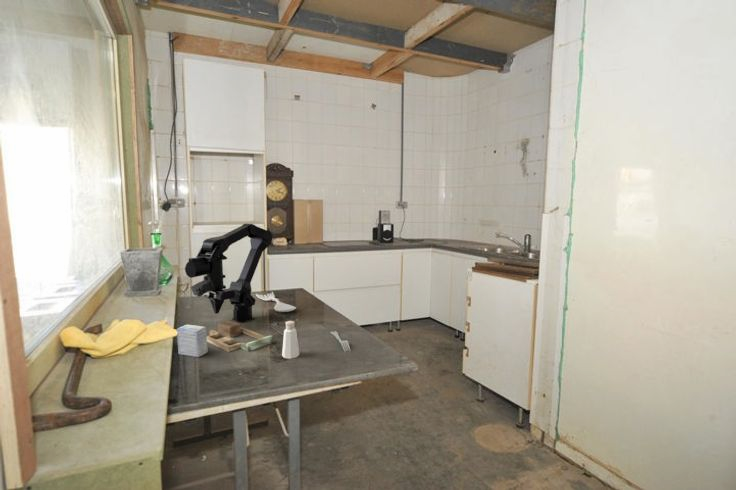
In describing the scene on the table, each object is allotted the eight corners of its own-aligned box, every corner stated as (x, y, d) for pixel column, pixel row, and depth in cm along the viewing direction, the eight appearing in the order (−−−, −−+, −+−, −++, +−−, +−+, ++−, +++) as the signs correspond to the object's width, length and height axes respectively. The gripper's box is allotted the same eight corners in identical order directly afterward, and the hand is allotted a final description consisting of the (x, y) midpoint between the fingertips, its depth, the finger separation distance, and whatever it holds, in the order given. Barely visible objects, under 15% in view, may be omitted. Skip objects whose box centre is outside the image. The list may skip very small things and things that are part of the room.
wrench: (275, 323, 154) (275, 321, 153) (298, 338, 138) (298, 335, 137) (264, 326, 151) (263, 323, 151) (286, 341, 135) (285, 338, 135)
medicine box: (208, 352, 124) (206, 326, 123) (197, 358, 120) (196, 331, 119) (188, 349, 127) (187, 323, 126) (177, 354, 122) (176, 328, 121)
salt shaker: (291, 360, 119) (290, 325, 117) (278, 356, 121) (277, 322, 120) (302, 354, 123) (302, 320, 122) (290, 350, 126) (289, 318, 125)
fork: (336, 337, 145) (336, 330, 145) (352, 353, 125) (352, 344, 125) (329, 338, 144) (329, 331, 144) (344, 354, 124) (343, 345, 124)
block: (228, 331, 145) (228, 320, 144) (240, 334, 141) (240, 324, 140) (218, 334, 141) (217, 323, 140) (230, 338, 137) (229, 327, 136)
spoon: (272, 297, 194) (272, 290, 193) (300, 313, 168) (299, 305, 167) (255, 300, 189) (254, 293, 188) (280, 316, 162) (280, 308, 162)
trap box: (233, 327, 148) (233, 321, 147) (272, 342, 132) (272, 335, 132) (198, 337, 137) (198, 330, 137) (236, 355, 122) (236, 347, 122)
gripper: (181, 272, 143) (183, 313, 145) (206, 279, 131) (209, 324, 133) (209, 268, 152) (211, 307, 154) (236, 274, 140) (237, 316, 142)
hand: (216, 313), depth 145 cm, fingers closed
